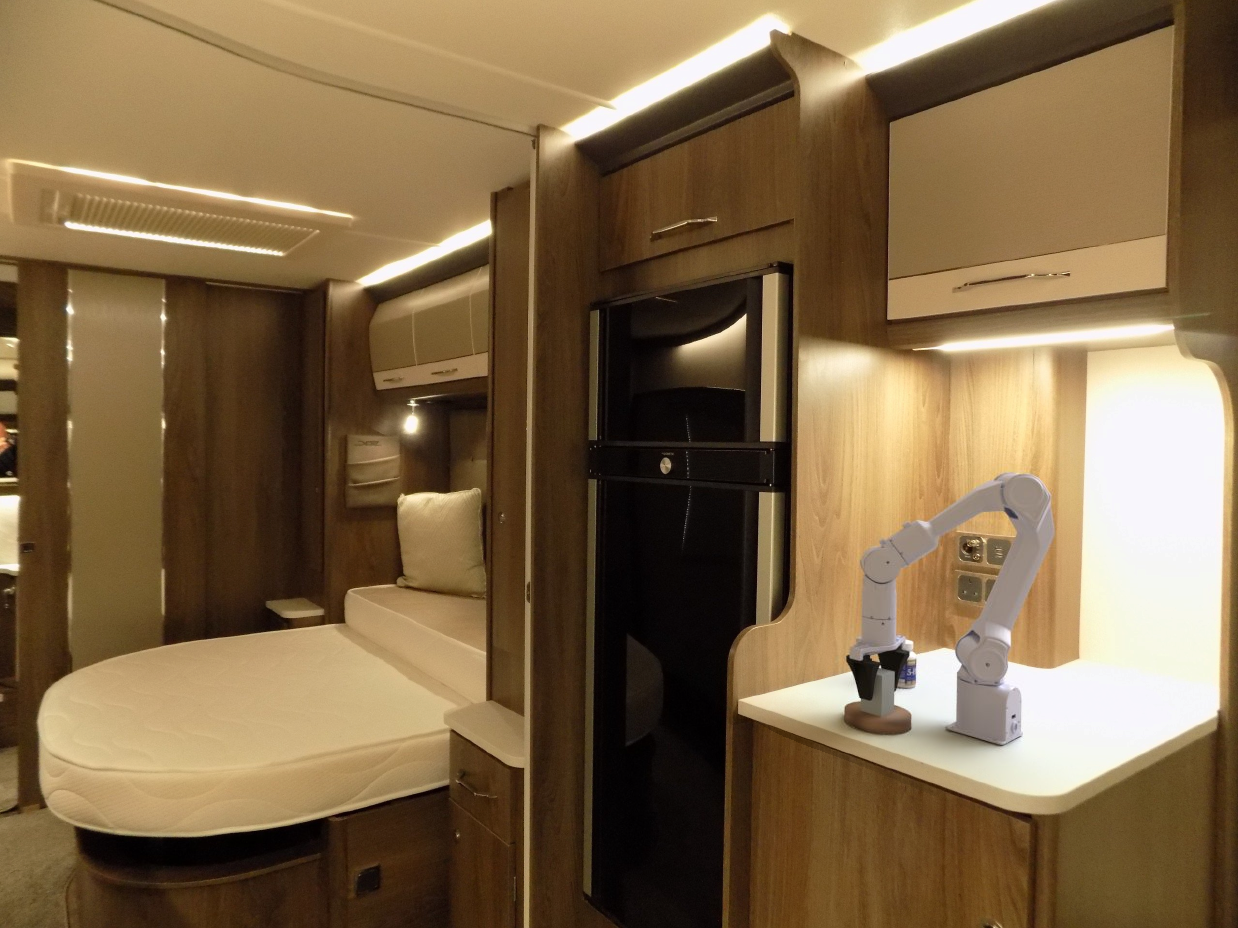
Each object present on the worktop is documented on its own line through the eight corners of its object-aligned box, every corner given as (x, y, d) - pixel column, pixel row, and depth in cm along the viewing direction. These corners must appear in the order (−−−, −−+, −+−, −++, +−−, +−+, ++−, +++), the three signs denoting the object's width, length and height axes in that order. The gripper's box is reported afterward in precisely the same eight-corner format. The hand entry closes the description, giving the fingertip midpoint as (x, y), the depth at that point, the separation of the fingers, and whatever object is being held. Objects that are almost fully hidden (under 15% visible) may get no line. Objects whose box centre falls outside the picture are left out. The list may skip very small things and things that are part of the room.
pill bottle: (911, 690, 150) (912, 645, 150) (884, 685, 153) (885, 641, 153) (919, 684, 154) (919, 640, 154) (893, 679, 157) (893, 636, 157)
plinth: (923, 724, 131) (923, 713, 131) (889, 739, 124) (889, 727, 124) (866, 707, 139) (866, 696, 139) (831, 720, 132) (831, 709, 132)
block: (894, 711, 131) (894, 671, 131) (881, 716, 129) (882, 675, 128) (873, 705, 134) (873, 666, 134) (860, 710, 132) (861, 670, 132)
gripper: (880, 607, 139) (879, 681, 139) (834, 617, 130) (833, 696, 130) (917, 613, 133) (915, 690, 134) (871, 625, 124) (870, 707, 124)
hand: (877, 694), depth 131 cm, fingers open, 7 cm apart
